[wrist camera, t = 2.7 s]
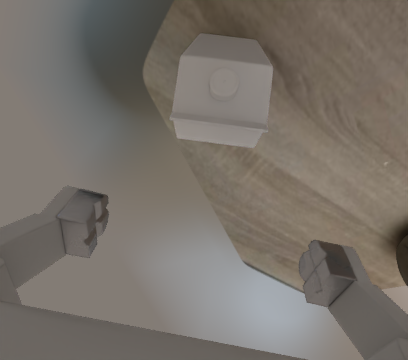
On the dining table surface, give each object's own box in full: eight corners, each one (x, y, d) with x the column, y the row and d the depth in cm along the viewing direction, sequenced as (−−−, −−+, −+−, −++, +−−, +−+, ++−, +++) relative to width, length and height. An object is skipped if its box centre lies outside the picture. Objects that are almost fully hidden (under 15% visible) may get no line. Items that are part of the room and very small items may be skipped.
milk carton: (245, 97, 36) (257, 172, 20) (195, 90, 36) (168, 161, 20) (257, 39, 32) (282, 79, 16) (199, 32, 32) (170, 65, 16)
